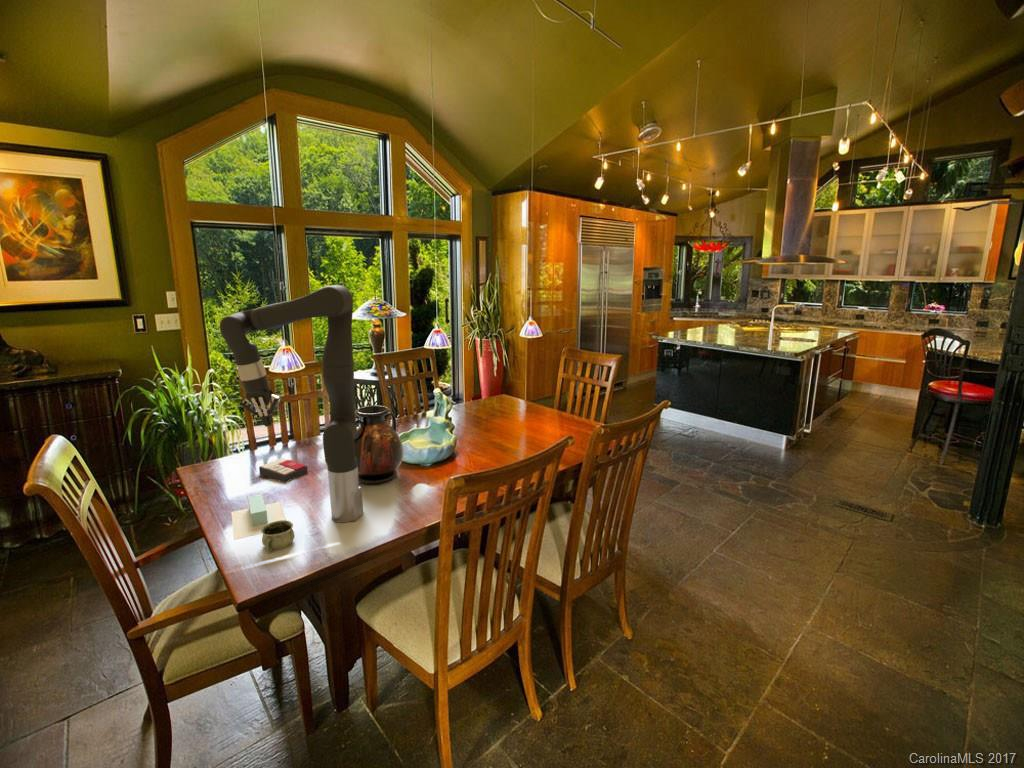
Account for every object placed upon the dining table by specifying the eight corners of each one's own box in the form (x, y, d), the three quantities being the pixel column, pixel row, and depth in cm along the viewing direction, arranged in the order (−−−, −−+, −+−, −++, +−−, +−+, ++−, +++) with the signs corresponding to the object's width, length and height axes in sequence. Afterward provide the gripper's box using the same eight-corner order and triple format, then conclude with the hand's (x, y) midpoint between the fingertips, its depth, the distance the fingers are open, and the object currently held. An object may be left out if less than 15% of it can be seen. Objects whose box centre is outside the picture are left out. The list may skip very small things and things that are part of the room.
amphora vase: (386, 463, 210) (383, 399, 203) (415, 478, 195) (412, 409, 189) (338, 477, 195) (332, 409, 189) (365, 494, 180) (360, 421, 174)
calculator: (284, 474, 190) (258, 465, 196) (284, 484, 191) (259, 475, 197) (307, 464, 199) (282, 456, 206) (308, 474, 200) (283, 465, 207)
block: (266, 510, 157) (262, 493, 169) (250, 513, 155) (247, 496, 167) (267, 523, 158) (263, 505, 170) (252, 526, 156) (249, 508, 168)
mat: (288, 528, 156) (288, 526, 156) (234, 541, 149) (234, 539, 149) (280, 503, 173) (280, 501, 173) (231, 514, 165) (231, 512, 165)
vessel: (276, 535, 153) (274, 516, 151) (304, 536, 152) (302, 518, 151) (253, 556, 141) (250, 537, 140) (282, 558, 140) (280, 538, 139)
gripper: (278, 369, 160) (293, 418, 166) (239, 374, 161) (255, 423, 166) (267, 377, 153) (283, 427, 159) (226, 382, 154) (243, 432, 159)
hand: (268, 425), depth 162 cm, fingers closed
